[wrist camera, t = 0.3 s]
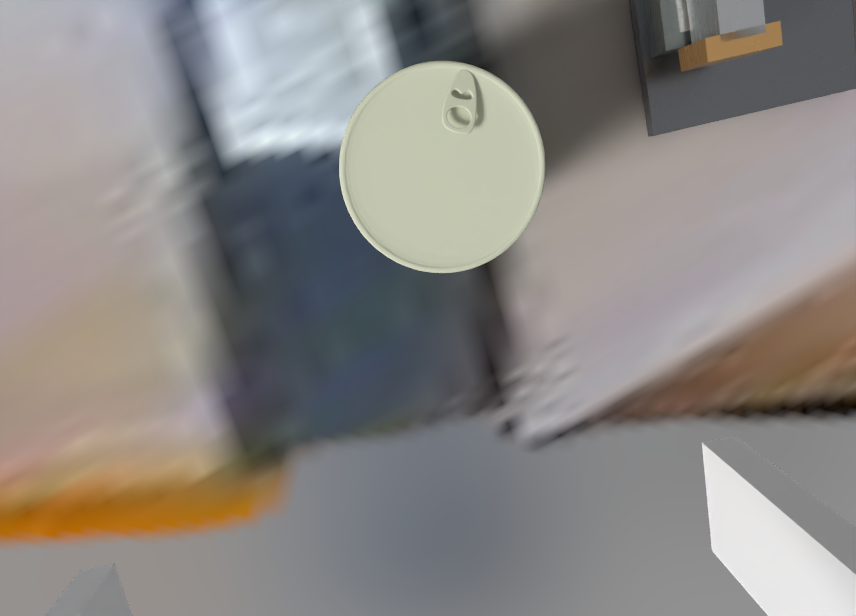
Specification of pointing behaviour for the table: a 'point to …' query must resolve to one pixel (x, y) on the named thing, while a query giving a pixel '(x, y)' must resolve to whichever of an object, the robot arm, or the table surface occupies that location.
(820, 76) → the tray
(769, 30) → the swing arm
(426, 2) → the table surface
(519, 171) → the can
